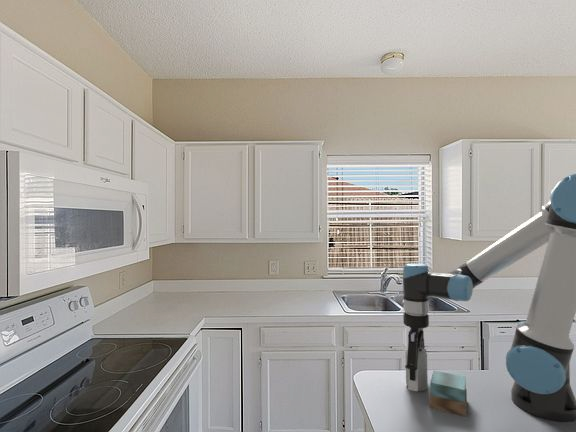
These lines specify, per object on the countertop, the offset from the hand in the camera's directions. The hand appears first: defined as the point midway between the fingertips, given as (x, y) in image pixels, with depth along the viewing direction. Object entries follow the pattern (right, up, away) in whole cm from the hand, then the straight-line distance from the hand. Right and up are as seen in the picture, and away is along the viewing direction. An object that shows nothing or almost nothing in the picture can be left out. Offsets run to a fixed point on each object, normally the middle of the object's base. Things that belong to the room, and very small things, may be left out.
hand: (416, 380), depth 105 cm
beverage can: (0, -2, 0) cm, 2 cm away
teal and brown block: (+5, -2, -10) cm, 11 cm away
